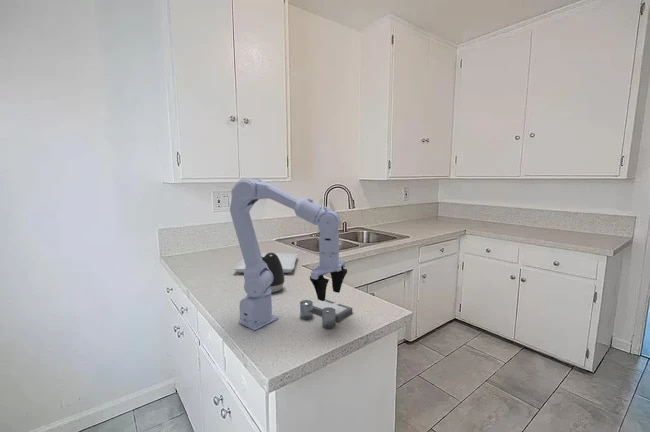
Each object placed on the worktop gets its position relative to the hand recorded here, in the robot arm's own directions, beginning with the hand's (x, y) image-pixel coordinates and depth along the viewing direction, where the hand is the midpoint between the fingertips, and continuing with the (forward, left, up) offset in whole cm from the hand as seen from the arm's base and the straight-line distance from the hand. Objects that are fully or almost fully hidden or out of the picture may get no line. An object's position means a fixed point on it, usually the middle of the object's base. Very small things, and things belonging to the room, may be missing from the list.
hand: (329, 295), depth 93 cm
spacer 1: (0, +9, -9) cm, 13 cm away
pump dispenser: (+8, +35, -10) cm, 37 cm away
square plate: (+28, +59, -10) cm, 66 cm away
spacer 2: (0, 0, -10) cm, 10 cm away
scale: (+7, +5, -9) cm, 13 cm away
